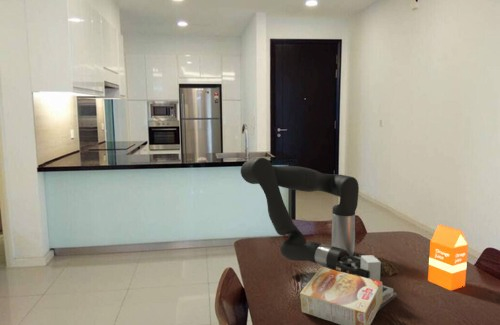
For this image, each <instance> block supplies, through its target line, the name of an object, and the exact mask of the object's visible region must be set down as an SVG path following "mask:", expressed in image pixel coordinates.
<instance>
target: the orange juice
mask: <svg viewBox="0 0 500 325" xmlns="http://www.w3.org/2000/svg"><path fill="white" fill-rule="evenodd" d="M429 244H430V245H429V257H428V276H427V282H430V283H432V284H435V285H438V286H440V287H442V288H444V289H446V290H449V291H455V290H457V289H459V288H463V287H466V279H467V278H466V274H467V264H468V263H467V262H468V261H467V260H468V251H469V250H468V249H469V247H468V246H469V244H468V242H467V240H466V237H465V234H464V233H463V231H462V230H460V229H456V228H454V227H450V226H446V225H442V224H438V225H437V228H436V229H435V231H434V233H433V236H432V238H431V239H430V242H429ZM462 286H463V287H462Z"/></svg>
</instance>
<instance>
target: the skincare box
mask: <svg viewBox="0 0 500 325" xmlns="http://www.w3.org/2000/svg"><path fill="white" fill-rule="evenodd" d="M363 255H364V256H361V266H360V268H361V269H365V270H368V271H370V277H369V278H368V279H372V280H376V281H380V282H381V275H380V268H381V262H380V261H379V260H378V259H377V258H378V257H376V258H375V255H370V254H369V255H367V254H366V255H365V254H363ZM360 277H362V276H360ZM364 278H365V277H364Z"/></svg>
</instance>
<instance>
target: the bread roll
mask: <svg viewBox="0 0 500 325" xmlns="http://www.w3.org/2000/svg"><path fill="white" fill-rule="evenodd" d="M374 257H375V256H374ZM375 258H377V259H378V260H379V261H380V262H381V263H382V264H383V269H382V270H380V277H392V276H393V275H394V274H396V275H397V274H398V273H399V271H398V269H397V268H396V265H395V264H393V263H392V262H390V260H388V259H385V258H384V257H375Z"/></svg>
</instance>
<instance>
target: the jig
mask: <svg viewBox="0 0 500 325" xmlns="http://www.w3.org/2000/svg"><path fill="white" fill-rule="evenodd" d="M382 285H383V284H382ZM396 297H397V292H394V288H392V287H389V286H387V285H383V290H382V299H383V301H382V303H381V305H380V307H379V309H378V311H380V310H381V309H382V308H384V307H385V306H386V305H387V304H389V303H390V302H391V301H392V300H394V299H395V298H396Z"/></svg>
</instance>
